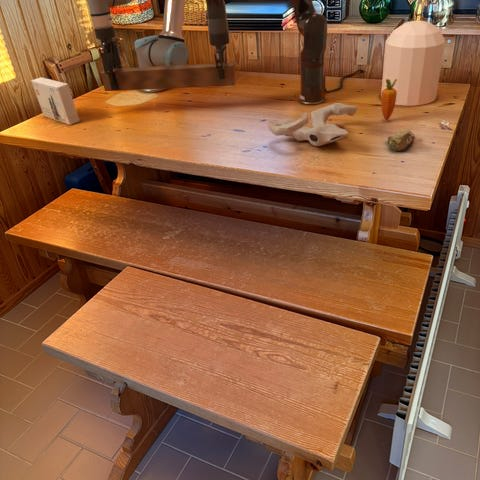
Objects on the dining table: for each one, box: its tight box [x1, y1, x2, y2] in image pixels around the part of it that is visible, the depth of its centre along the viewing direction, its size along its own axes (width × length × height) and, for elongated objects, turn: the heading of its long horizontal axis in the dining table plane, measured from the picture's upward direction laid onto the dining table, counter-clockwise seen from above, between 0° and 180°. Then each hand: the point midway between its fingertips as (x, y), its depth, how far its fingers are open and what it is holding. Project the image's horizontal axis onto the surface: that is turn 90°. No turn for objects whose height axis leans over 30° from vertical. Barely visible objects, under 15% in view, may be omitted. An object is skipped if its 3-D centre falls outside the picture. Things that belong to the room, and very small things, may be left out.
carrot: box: [380, 79, 397, 122], centre depth 161 cm, size 5×5×15 cm
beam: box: [100, 62, 237, 92], centre depth 186 cm, size 54×5×8 cm, turn 82°
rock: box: [387, 129, 416, 152], centre depth 146 cm, size 11×6×10 cm
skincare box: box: [30, 76, 81, 126], centre depth 193 cm, size 21×5×16 cm, turn 49°
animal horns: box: [267, 102, 358, 147], centre depth 155 cm, size 28×26×12 cm
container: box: [380, 20, 446, 107], centre depth 176 cm, size 21×21×28 cm
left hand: (117, 87), depth 192 cm, fingers closed on beam, 5 cm apart
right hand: (223, 76), depth 183 cm, fingers closed on beam, 5 cm apart
